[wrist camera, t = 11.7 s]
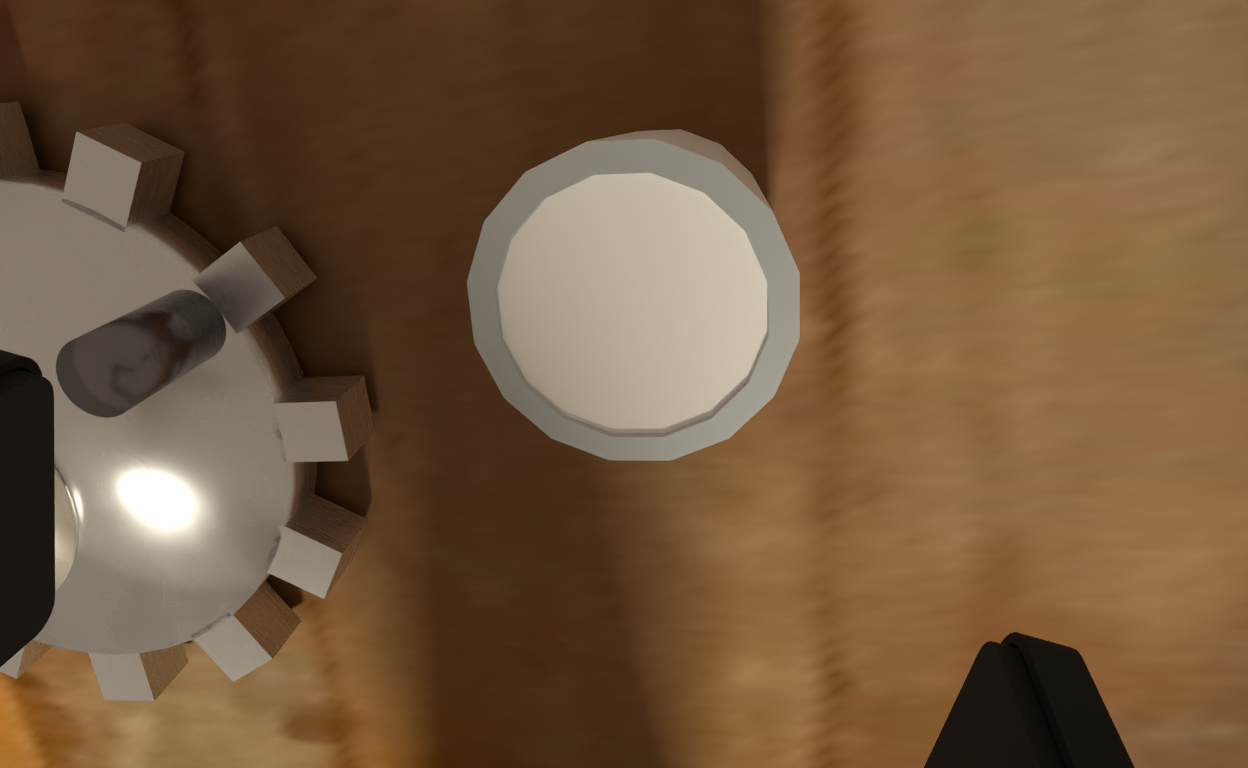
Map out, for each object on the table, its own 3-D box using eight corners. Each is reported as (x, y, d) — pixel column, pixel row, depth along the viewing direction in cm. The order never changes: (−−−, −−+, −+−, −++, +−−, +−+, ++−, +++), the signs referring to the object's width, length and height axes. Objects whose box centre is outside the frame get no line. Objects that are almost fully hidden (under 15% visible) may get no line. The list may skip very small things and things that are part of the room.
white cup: (488, 206, 26) (397, 271, 20) (692, 45, 24) (665, 60, 18) (639, 400, 28) (600, 520, 21) (845, 265, 26) (871, 353, 19)
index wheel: (103, 738, 35) (-21, 876, 29) (-301, 327, 31) (-534, 398, 25) (496, 504, 29) (433, 621, 24) (64, -43, 25) (-137, -57, 19)
